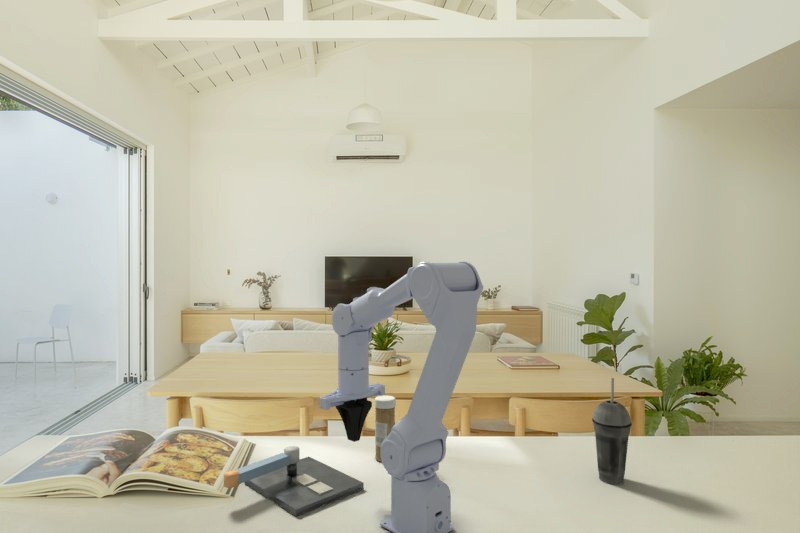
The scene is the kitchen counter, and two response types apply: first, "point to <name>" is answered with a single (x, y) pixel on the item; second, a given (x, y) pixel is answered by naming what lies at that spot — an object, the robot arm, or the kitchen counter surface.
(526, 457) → the kitchen counter surface
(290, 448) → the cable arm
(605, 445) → the beverage cup
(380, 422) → the sprinkles bottle
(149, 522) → the kitchen counter surface
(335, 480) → the board
